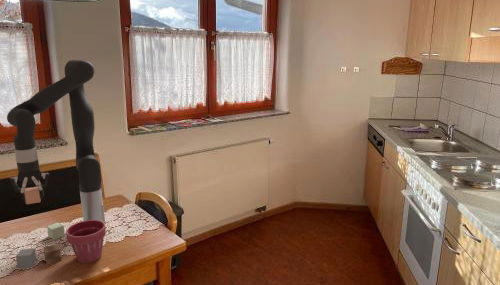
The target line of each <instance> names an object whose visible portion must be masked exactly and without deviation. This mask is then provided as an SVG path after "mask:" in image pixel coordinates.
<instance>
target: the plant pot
mask: <svg viewBox="0 0 500 285" xmlns="http://www.w3.org/2000/svg"><path fill="white" fill-rule="evenodd" d="M106 229H107V228H106V223H105V224H104V223H103V222H102V221H99V220H86V221H83V220H82V221H79V222H76V223H74V224H72V225H70V226H69V227H67V229H66V231H65V236H66V241H67V243H68V244H70V246H71V249H72V251H73V254H74V256H75V258H76V261H77V262H79V263H83V264H87V263H88V264H89V263H92V262H95V261H97V260H98V259H100V258H101V256H102V252H103V246H104V239H105V238H104V237H106V234H107V230H106Z"/></svg>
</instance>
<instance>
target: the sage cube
mask: <svg viewBox="0 0 500 285" xmlns="http://www.w3.org/2000/svg"><path fill="white" fill-rule="evenodd" d="M46 229H47V236H48V237H49V238H50V239H51V240H53V241H55V240H57V239H60V238H63V237H65V236H66V231H65V226H64V224H62V223H60V222H55V223H52V224H50V225H46Z"/></svg>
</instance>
